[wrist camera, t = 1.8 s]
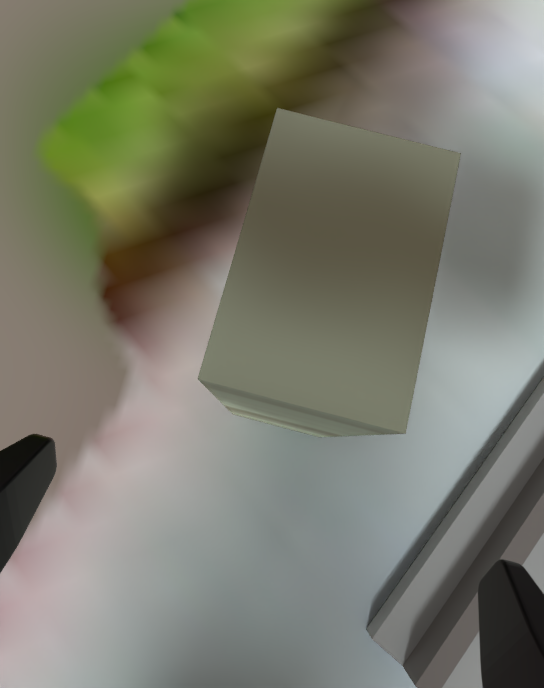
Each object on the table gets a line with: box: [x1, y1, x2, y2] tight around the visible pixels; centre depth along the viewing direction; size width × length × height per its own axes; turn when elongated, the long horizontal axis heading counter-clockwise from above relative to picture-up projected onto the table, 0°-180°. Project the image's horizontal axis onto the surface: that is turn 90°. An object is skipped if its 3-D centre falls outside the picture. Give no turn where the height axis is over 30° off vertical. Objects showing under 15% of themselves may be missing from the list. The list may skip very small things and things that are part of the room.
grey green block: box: [198, 108, 461, 437], centre depth 16 cm, size 6×4×12 cm, turn 165°
